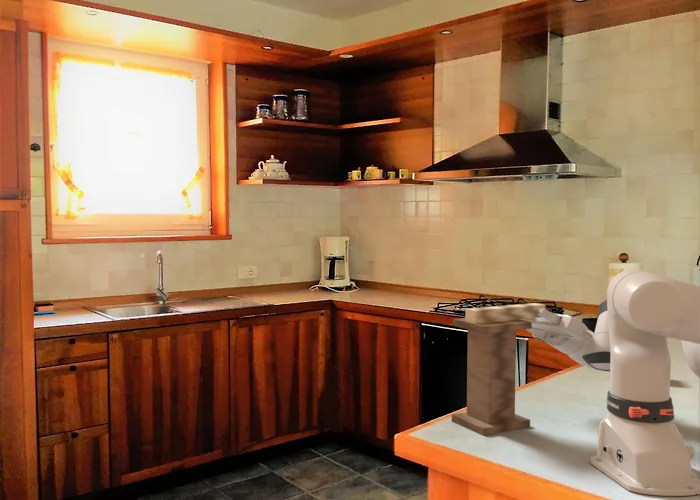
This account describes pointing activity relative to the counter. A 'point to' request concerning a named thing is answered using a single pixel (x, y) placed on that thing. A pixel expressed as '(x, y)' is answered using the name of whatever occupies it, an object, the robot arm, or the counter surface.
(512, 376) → the walnut pedestal
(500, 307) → the maple bar
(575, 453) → the counter surface
